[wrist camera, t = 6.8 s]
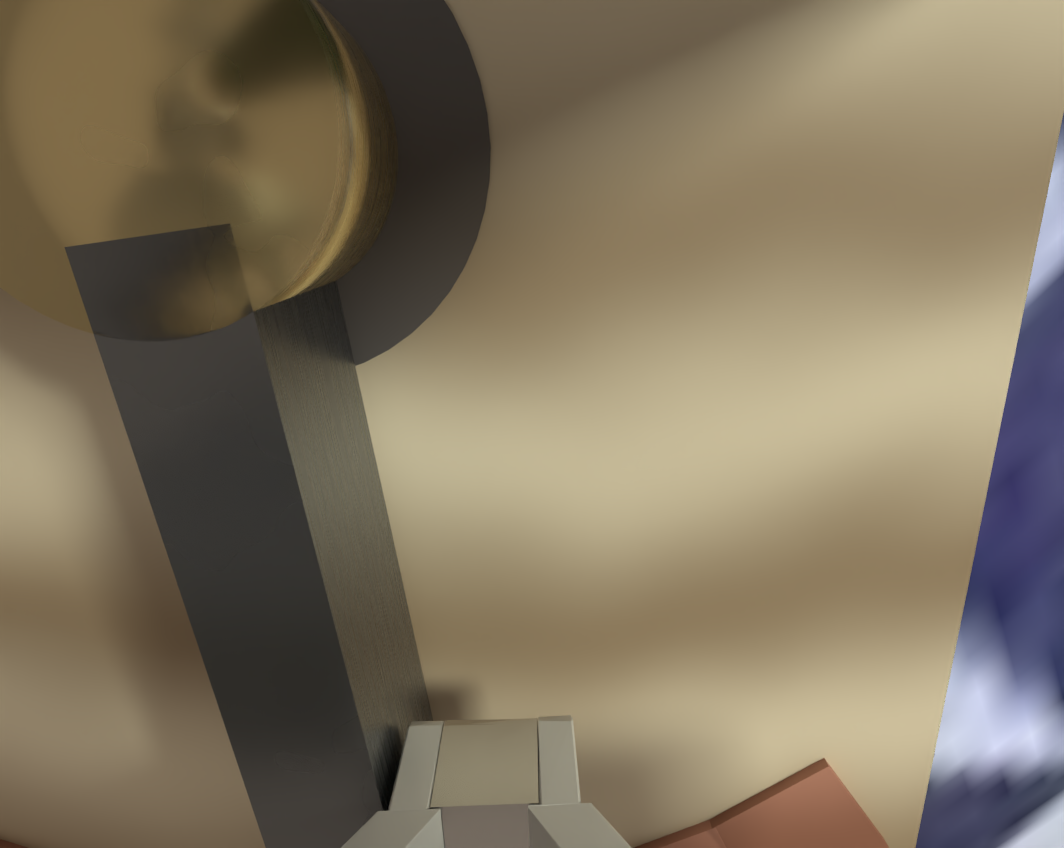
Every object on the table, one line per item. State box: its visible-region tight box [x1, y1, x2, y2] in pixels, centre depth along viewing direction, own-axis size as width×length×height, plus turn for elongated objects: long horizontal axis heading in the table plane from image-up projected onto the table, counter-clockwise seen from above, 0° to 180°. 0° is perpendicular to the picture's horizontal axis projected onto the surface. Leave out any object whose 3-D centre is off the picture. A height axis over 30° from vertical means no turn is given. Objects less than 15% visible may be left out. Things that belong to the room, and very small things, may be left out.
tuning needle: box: [0, 0, 433, 848], centre depth 9 cm, size 15×4×3 cm, turn 8°
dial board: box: [0, 0, 1064, 848], centre depth 12 cm, size 20×22×2 cm
